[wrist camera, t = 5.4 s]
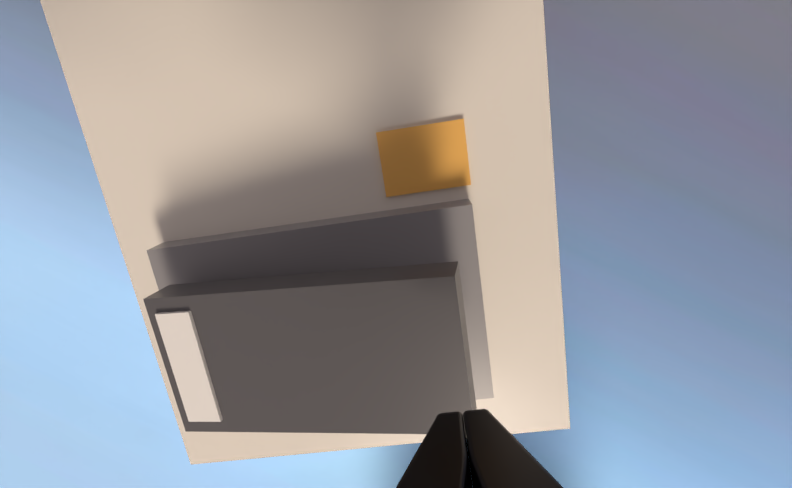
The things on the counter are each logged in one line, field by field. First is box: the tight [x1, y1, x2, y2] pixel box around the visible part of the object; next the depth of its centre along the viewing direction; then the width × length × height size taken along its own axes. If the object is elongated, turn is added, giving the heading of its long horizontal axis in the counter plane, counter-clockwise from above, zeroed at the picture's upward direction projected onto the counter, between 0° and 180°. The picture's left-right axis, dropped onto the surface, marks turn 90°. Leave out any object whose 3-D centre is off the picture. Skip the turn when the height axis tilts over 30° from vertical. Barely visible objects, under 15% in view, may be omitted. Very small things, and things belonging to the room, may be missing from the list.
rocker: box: [143, 261, 477, 435], centre depth 12 cm, size 8×4×1 cm, turn 99°
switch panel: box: [40, 0, 570, 464], centre depth 13 cm, size 13×25×3 cm, turn 9°
